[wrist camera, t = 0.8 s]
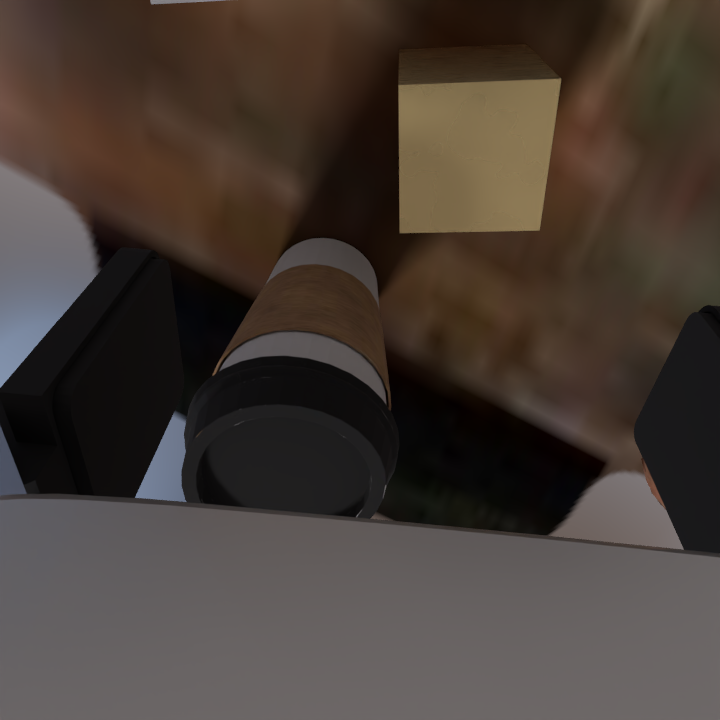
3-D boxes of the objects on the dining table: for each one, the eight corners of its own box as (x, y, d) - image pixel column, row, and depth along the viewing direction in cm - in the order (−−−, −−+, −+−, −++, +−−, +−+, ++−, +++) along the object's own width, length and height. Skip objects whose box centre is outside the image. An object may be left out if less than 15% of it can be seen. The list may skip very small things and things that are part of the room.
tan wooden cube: (526, 43, 25) (561, 78, 20) (512, 169, 29) (539, 230, 23) (399, 49, 26) (398, 85, 20) (399, 173, 29) (399, 233, 24)
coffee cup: (225, 300, 34) (130, 506, 22) (298, 183, 30) (228, 361, 18) (346, 368, 37) (320, 586, 25) (430, 269, 32) (448, 477, 20)
